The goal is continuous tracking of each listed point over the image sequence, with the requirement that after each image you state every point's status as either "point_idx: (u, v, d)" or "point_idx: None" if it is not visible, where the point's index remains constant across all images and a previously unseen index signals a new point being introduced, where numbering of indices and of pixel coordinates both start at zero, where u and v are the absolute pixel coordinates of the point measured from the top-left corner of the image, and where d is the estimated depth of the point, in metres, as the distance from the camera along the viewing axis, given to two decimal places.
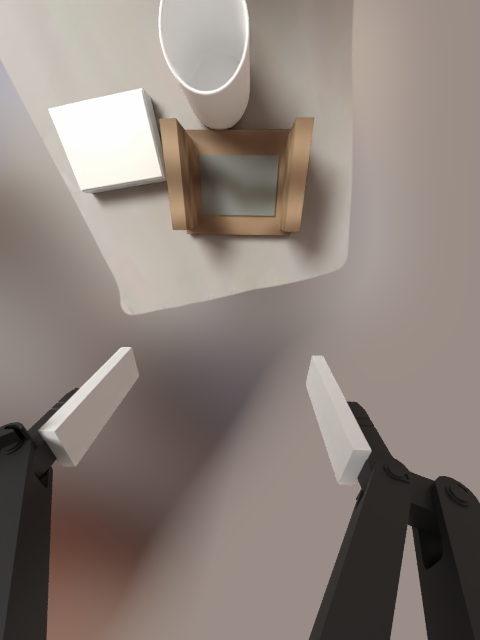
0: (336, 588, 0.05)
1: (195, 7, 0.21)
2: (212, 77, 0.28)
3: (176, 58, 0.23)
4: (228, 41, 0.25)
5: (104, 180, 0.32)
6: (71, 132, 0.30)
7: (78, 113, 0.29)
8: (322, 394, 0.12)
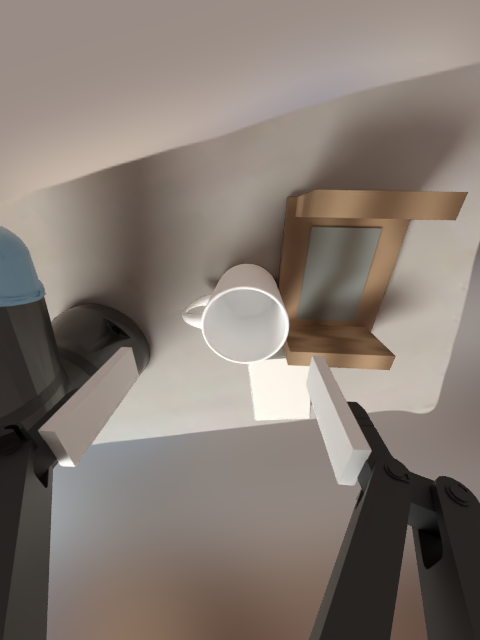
0: (336, 588, 0.05)
1: (213, 321, 0.24)
2: (236, 299, 0.30)
3: (242, 339, 0.26)
4: None
5: (306, 401, 0.35)
6: (270, 412, 0.37)
7: (259, 404, 0.36)
8: (322, 394, 0.12)
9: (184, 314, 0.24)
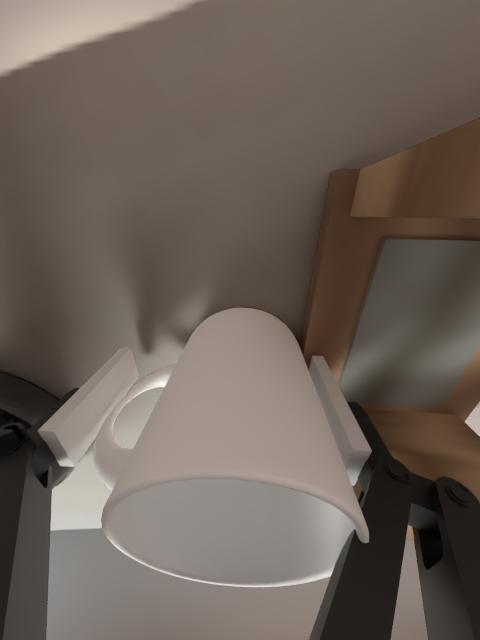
0: (337, 588, 0.05)
1: None
2: None
3: None
4: None
5: None
6: None
7: None
8: (321, 394, 0.12)
9: (97, 440, 0.10)
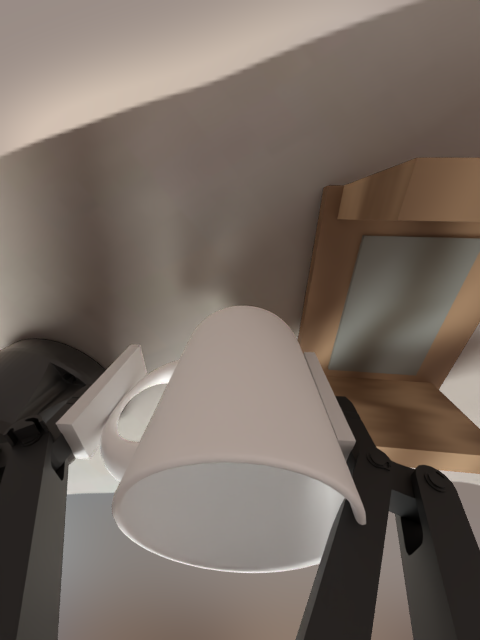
0: (323, 576, 0.06)
1: None
2: None
3: (234, 464, 0.13)
4: None
5: None
6: None
7: None
8: None
9: (103, 434, 0.11)
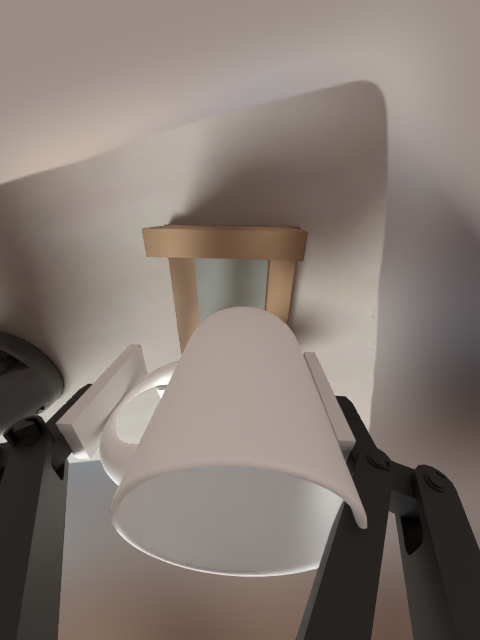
0: (323, 576, 0.06)
1: None
2: None
3: None
4: None
5: None
6: None
7: None
8: None
9: (102, 436, 0.10)
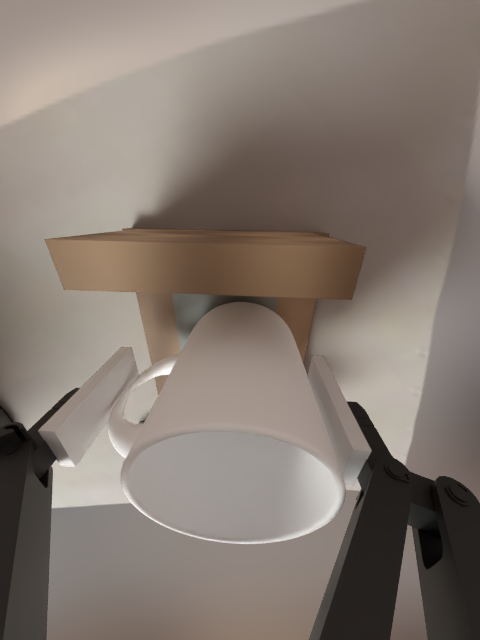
0: (336, 588, 0.05)
1: None
2: None
3: (231, 450, 0.14)
4: None
5: None
6: None
7: None
8: (322, 394, 0.12)
9: (111, 418, 0.11)
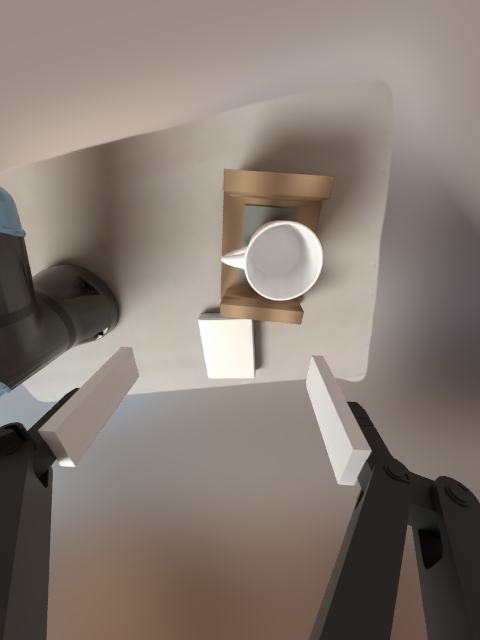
0: (336, 588, 0.05)
1: (249, 266, 0.27)
2: (265, 256, 0.32)
3: (272, 287, 0.28)
4: None
5: (250, 361, 0.41)
6: (220, 370, 0.42)
7: (211, 362, 0.42)
8: (321, 394, 0.12)
9: (224, 256, 0.26)
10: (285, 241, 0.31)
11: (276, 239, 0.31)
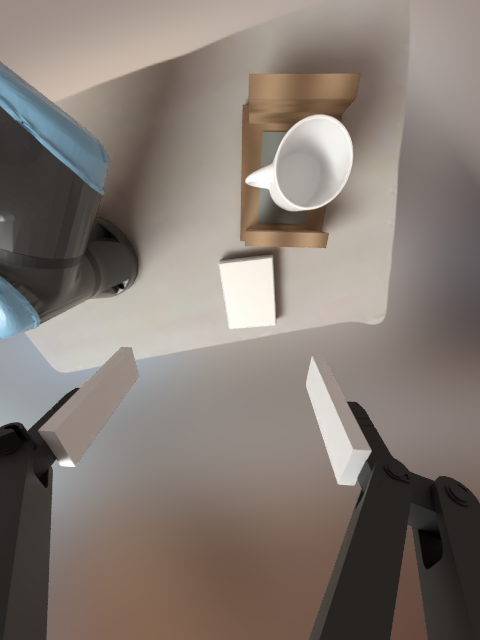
0: (336, 588, 0.05)
1: None
2: (285, 187, 0.33)
3: None
4: None
5: (271, 306, 0.41)
6: (241, 319, 0.43)
7: (232, 311, 0.42)
8: (321, 394, 0.12)
9: (250, 174, 0.26)
10: (305, 169, 0.31)
11: (296, 167, 0.31)
